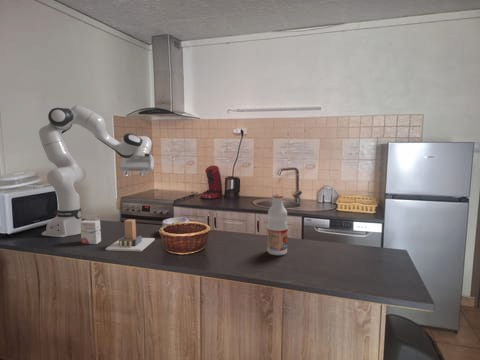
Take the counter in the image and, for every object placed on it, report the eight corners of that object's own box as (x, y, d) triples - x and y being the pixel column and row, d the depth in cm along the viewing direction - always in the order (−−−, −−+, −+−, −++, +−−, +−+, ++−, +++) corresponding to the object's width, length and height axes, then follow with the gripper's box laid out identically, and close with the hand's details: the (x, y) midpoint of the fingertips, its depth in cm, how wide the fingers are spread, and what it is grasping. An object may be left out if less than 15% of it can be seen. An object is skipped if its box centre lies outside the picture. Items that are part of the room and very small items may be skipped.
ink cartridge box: (81, 243, 163) (79, 216, 161) (86, 240, 168) (84, 214, 166) (96, 244, 162) (94, 216, 160) (101, 241, 167) (100, 214, 165)
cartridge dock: (105, 250, 153) (105, 242, 152) (122, 239, 171) (122, 231, 170) (141, 251, 151) (140, 243, 151) (154, 239, 169) (154, 232, 169)
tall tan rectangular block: (125, 244, 159) (124, 221, 158) (129, 241, 163) (127, 219, 162) (133, 244, 159) (131, 221, 157) (136, 241, 163) (135, 219, 161)
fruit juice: (266, 249, 154) (266, 193, 151) (285, 248, 155) (285, 193, 151) (268, 256, 145) (269, 196, 142) (288, 255, 145) (289, 196, 142)
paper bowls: (159, 232, 184) (159, 218, 183) (184, 228, 191) (184, 216, 190) (166, 239, 171) (166, 224, 170) (192, 235, 178) (192, 221, 177)
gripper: (121, 154, 191) (114, 171, 182) (154, 154, 188) (148, 172, 180) (125, 161, 196) (118, 178, 187) (156, 161, 193) (151, 179, 185)
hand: (133, 175), depth 184 cm, fingers open, 8 cm apart
